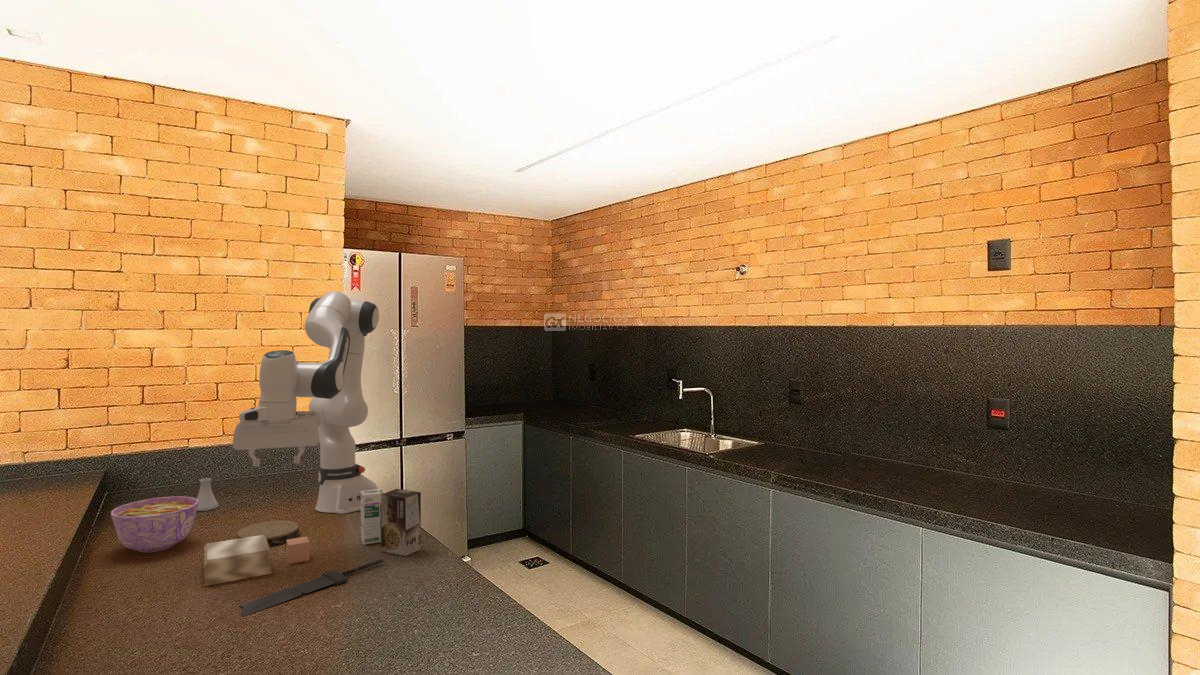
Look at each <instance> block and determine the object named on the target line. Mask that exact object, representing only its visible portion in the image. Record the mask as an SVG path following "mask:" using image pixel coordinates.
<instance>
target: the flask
mask: <svg viewBox="0 0 1200 675" xmlns="http://www.w3.org/2000/svg"><path fill="white" fill-rule="evenodd" d="M211 481H212V478H210V477H208V478H207V477H206V478H201V479H199V482H200V485H199V486H200V488H199V491H198V494H197V496H196V499H198V501H199V503H198V508H197V511H196V512H208V511H211V510H216V509H217V508H218V507H220V504H219V503H218V501H217V499H216V497H215V495H214V492H213V490H212V485H211Z"/></svg>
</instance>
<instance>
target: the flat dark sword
mask: <svg viewBox="0 0 1200 675" xmlns="http://www.w3.org/2000/svg"><path fill="white" fill-rule="evenodd" d="M382 563H384V559H382V558H379V559H378V560H375V561H372V562H369V563H366V564H363V565H361V566H358V567H355V568H352V569H350V570H346V571H344V572H340V571H336V570H329V571H327V572H324V573H322V575H321V576H319V577H317V578H314V579H312V580H308V581H306V582H303V583H299V584H297V585H294V586H292V587H291V586H290V587H288V588H285V589H283V590H281V591H277V592H274V593H271V594H269V595H265V596H263V597H262V596H261V597H259V598H257V599H254V600H252V601H249V602H248V601H247V603H243V604H240V605H239V608H242V612H241V613H240V614H241V616H242V617H246V616H248V615H251V614H254V613H257V612H259V611H262V610H265V609H268V608H271V607H274V606H276V605H279V604H282V603H285V602H286V601H290V600H292V599H295V598H298V597H301V596H302V595H306V594H309V593H311V592H314V591H317V590H321V589H322V588H327V587H329V586H331V585H336V586H338V585H340V584H344V583H346V582H348V577H347V576H349V575H352V574H354V573H357V572H359V571H362V570H365V569H368V568H371V567H374V566H376V565H379V564H382Z"/></svg>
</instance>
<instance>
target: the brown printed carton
mask: <svg viewBox="0 0 1200 675" xmlns="http://www.w3.org/2000/svg"><path fill="white" fill-rule="evenodd" d="M383 493H384V492H383ZM421 493H422V492H421V491H414V490H407V489H399V488H395V489H391V490H390V491H387V492H385V493H384V494H381V538H382V542H381V552H384V553H389V554H394V555H400V556H404V557H407V556H409V555H411V554H414V553H416V552H418V551H420V550H421V549H422V547H421V546H422V545H421V544H422V543H421V542H422V540H421V539H422V538H421V537H422V536H421V535H422V534H421V533H422V531H421V530H422V529H421V527H422V524H421V523H422V520H421V519H422V518H421V517H422V516H421V515H422V514H421V513H422V511H421V510H422V508H421V507H422V505H421V502H422V501H421V499H422V498H421V497H422V494H421Z"/></svg>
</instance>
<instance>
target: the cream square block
mask: <svg viewBox="0 0 1200 675" xmlns="http://www.w3.org/2000/svg"><path fill="white" fill-rule="evenodd" d="M205 544H206V545H205V546H204V547H203V554H204V556H203V562H204V563H203V565H204V567H203V568H204V569H203V570H204V571H203V572H204V586H205V587H208V586H213V585H218V584H223V583H228V582H234V581H238V580H239V581H241V580H243V579H244V580H245V579H248V578H255V577H260V576H265V575H266V576H267V575H270V574H272V552H271V548H270V547H269V545H268V542H267V539H266V537H264V535H258V536H252V537H246V538H239V539H237V538H235V539H227V540H222V541H215V542H214V541H213V542H208V543H205Z"/></svg>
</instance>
